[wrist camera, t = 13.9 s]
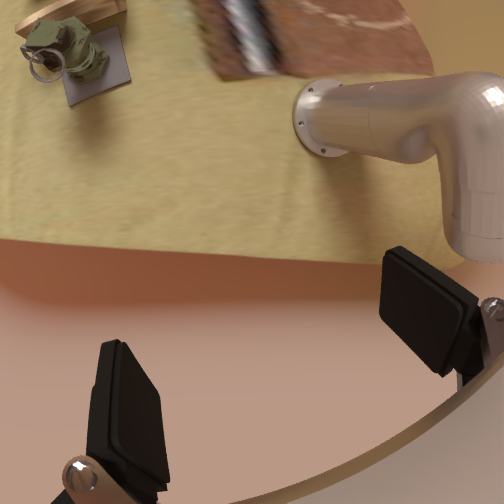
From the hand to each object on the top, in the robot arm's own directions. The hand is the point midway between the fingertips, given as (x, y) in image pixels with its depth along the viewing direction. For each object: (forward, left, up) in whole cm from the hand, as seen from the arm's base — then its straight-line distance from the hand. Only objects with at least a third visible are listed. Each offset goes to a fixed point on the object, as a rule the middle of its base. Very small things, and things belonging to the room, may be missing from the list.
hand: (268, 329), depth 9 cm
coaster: (+8, -20, -33) cm, 39 cm away
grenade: (+9, -20, -33) cm, 39 cm away
